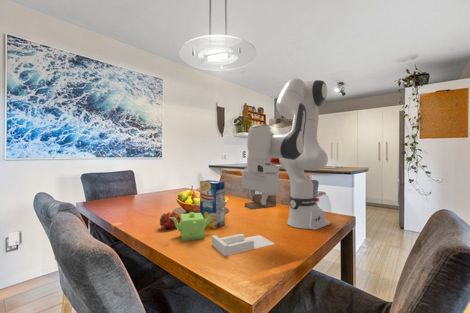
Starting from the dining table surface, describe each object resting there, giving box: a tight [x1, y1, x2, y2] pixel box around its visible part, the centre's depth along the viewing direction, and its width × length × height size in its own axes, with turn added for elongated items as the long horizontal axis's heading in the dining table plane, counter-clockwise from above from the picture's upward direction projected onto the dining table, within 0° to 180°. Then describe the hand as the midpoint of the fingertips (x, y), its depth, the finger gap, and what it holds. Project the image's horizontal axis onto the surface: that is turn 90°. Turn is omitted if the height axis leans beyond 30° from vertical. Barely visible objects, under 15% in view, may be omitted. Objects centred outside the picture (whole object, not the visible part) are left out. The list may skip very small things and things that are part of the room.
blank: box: [244, 193, 277, 211], centre depth 90 cm, size 11×5×4 cm, turn 118°
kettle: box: [169, 211, 211, 242], centre depth 101 cm, size 15×14×11 cm
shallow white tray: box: [211, 233, 275, 257], centre depth 91 cm, size 22×11×5 cm, turn 119°
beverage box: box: [199, 179, 226, 229], centre depth 120 cm, size 7×11×22 cm, turn 53°
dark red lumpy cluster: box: [159, 211, 181, 230], centre depth 115 cm, size 8×8×12 cm
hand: (258, 202), depth 89 cm, fingers closed on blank, 5 cm apart
